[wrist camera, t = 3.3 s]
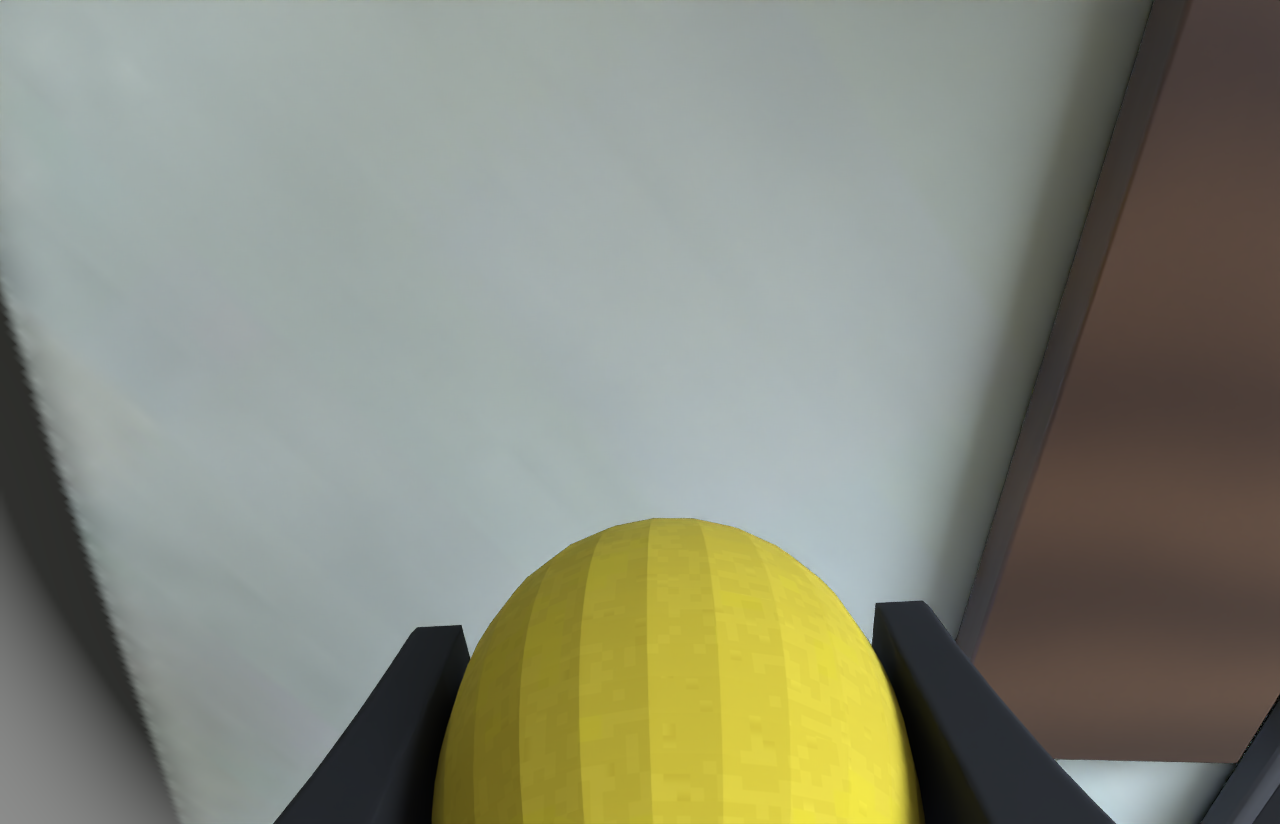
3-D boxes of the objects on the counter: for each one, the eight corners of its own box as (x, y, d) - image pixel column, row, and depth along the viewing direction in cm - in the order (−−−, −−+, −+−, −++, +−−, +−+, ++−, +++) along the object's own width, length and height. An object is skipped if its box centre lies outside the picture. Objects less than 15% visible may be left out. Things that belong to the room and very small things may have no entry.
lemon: (421, 501, 13) (179, 1174, 6) (754, 345, 12) (903, 996, 5) (603, 715, 16) (571, 1360, 9) (895, 608, 14) (1124, 1279, 7)
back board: (1216, 731, 23) (1237, 765, 22) (928, 725, 22) (939, 758, 22) (1764, -216, 12) (1849, -222, 11) (1223, -233, 12) (1267, -241, 11)
